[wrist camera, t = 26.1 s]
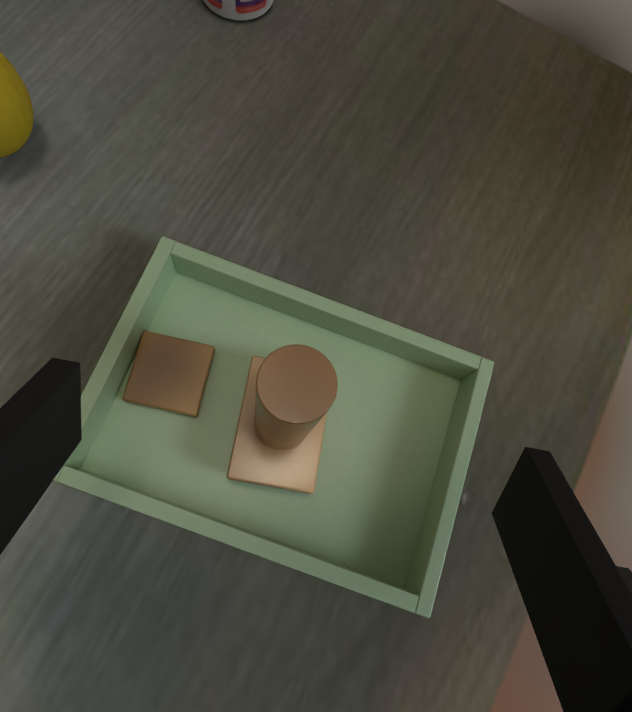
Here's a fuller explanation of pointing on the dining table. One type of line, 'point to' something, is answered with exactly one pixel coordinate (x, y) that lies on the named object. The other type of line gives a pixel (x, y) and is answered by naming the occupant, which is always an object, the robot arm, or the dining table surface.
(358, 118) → the dining table surface
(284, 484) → the cylinder on block base
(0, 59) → the lemon
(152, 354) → the flat brown square tile
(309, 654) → the dining table surface
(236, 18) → the pill bottle
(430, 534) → the tray
